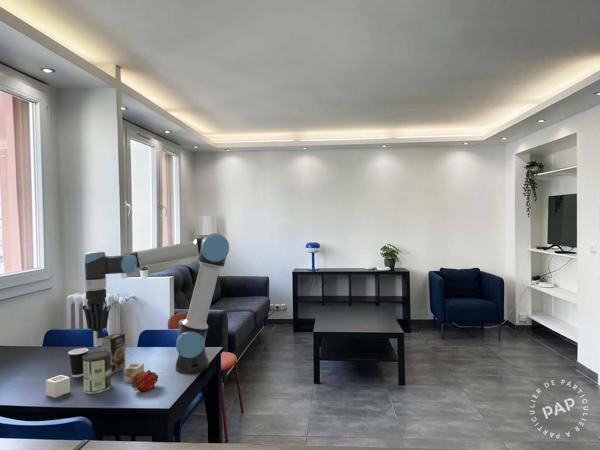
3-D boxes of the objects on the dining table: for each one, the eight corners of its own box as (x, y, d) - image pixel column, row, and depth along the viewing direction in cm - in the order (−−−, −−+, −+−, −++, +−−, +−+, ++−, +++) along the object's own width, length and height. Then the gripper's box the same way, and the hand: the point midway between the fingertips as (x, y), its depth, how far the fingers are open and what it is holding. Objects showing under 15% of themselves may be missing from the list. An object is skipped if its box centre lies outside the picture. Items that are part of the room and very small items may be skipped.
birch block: (143, 376, 170) (143, 363, 170) (137, 382, 164) (137, 368, 164) (130, 376, 170) (130, 363, 170) (123, 382, 164) (123, 368, 164)
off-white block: (69, 391, 155) (69, 376, 155) (54, 398, 150) (54, 382, 150) (61, 389, 158) (60, 374, 158) (45, 395, 153) (45, 379, 153)
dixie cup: (65, 375, 172) (65, 351, 172) (84, 370, 178) (84, 346, 178) (72, 380, 167) (72, 355, 167) (91, 374, 173) (91, 350, 173)
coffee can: (102, 381, 165) (102, 349, 165) (116, 386, 160) (115, 353, 160) (78, 390, 157) (77, 356, 157) (91, 396, 151) (91, 360, 151)
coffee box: (113, 374, 173) (112, 339, 173) (100, 373, 174) (100, 338, 174) (126, 367, 182) (125, 333, 182) (114, 366, 183) (113, 332, 183)
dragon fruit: (129, 399, 151) (155, 392, 161) (141, 390, 148) (167, 383, 158) (124, 378, 155) (149, 373, 165) (135, 369, 152) (161, 364, 162)
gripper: (76, 290, 157) (77, 347, 157) (101, 291, 153) (103, 349, 153) (91, 287, 164) (92, 341, 164) (115, 287, 160) (117, 344, 160)
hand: (97, 345), depth 158 cm, fingers closed
